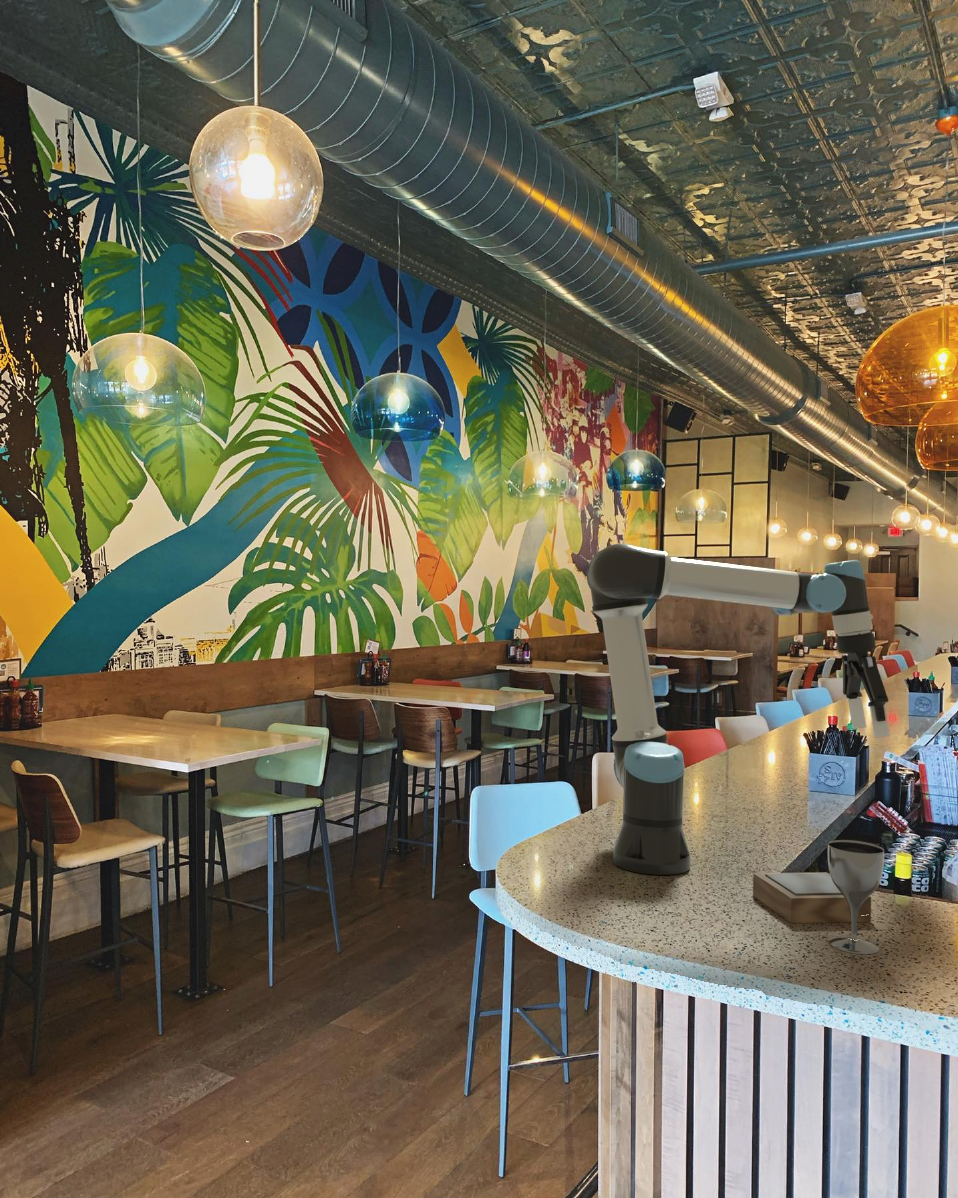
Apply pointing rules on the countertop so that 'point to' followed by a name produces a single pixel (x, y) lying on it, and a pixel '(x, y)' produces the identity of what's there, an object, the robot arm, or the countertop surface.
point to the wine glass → (855, 884)
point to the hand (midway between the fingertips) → (870, 732)
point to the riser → (805, 897)
